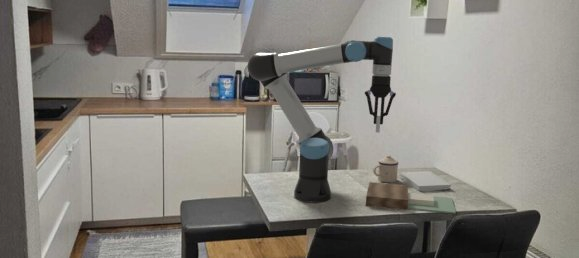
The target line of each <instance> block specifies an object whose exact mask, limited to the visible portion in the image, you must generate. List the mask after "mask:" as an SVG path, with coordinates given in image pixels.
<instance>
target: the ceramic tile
mask: <svg viewBox="0 0 579 258" xmlns="http://www.w3.org/2000/svg"><path fill="white" fill-rule="evenodd" d="M433 196H434V195H433V194H424V193H413V192H412V193H411V192H408V204H417V205H428V206H434V198H433Z"/></svg>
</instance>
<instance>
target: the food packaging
mask: <svg viewBox="0 0 579 258" xmlns="http://www.w3.org/2000/svg"><path fill="white" fill-rule="evenodd" d="M399 177H400V178H402V181H403V182H404V183H406V184H408V185H409V186H410V187H411V188H413V189H415V190H416V191H418V192H435V191H438V192H439V191H443V190H451V185H452V184H450V183H449V182H447V181H445V180H444V179H442V178H441V177H440V176H438V175H436V174H435V173H433V172H431V171H430V170H429V171H426V170H425V171H406V172H404V171H403V172H399Z"/></svg>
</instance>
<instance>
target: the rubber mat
mask: <svg viewBox="0 0 579 258" xmlns="http://www.w3.org/2000/svg"><path fill="white" fill-rule="evenodd" d="M433 198H434V206H428V205H417V204H408V208H407V210H412V211H414V210H415V211H423V212H434V213H442V214H445V213H446V214H454V215H455V214H456V213H457V211H456V209H455V205H454V202H453V199H452V197H443V196H435V195H433Z"/></svg>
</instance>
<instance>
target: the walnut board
mask: <svg viewBox="0 0 579 258" xmlns="http://www.w3.org/2000/svg"><path fill="white" fill-rule="evenodd" d="M408 185H409V184H408ZM408 185H405V184H397V183H396V184H395V183H386V182H371V181H369V182H368V187H367V192H366V195H365V199H366V200H365V207H374V208H384V209H385V208H386V209H392V210H393V209H396V210H404V211H405V210H406V211H408V209H407V208H408V193H409V191H408V189H409V187H408Z"/></svg>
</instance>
